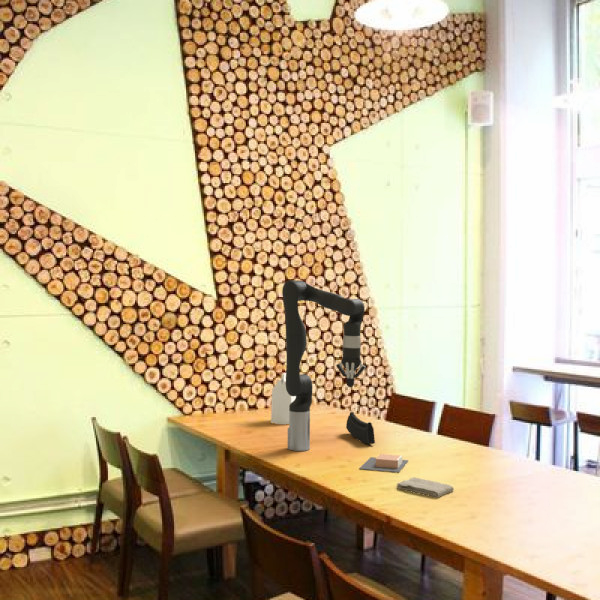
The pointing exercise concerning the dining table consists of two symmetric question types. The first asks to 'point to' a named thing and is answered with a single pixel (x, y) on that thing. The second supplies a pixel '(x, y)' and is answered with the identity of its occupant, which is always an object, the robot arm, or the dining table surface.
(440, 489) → the washcloth
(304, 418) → the robot arm
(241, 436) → the dining table surface
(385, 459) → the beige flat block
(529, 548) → the dining table surface
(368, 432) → the magazine
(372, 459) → the mat
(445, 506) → the dining table surface
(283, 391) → the milk
